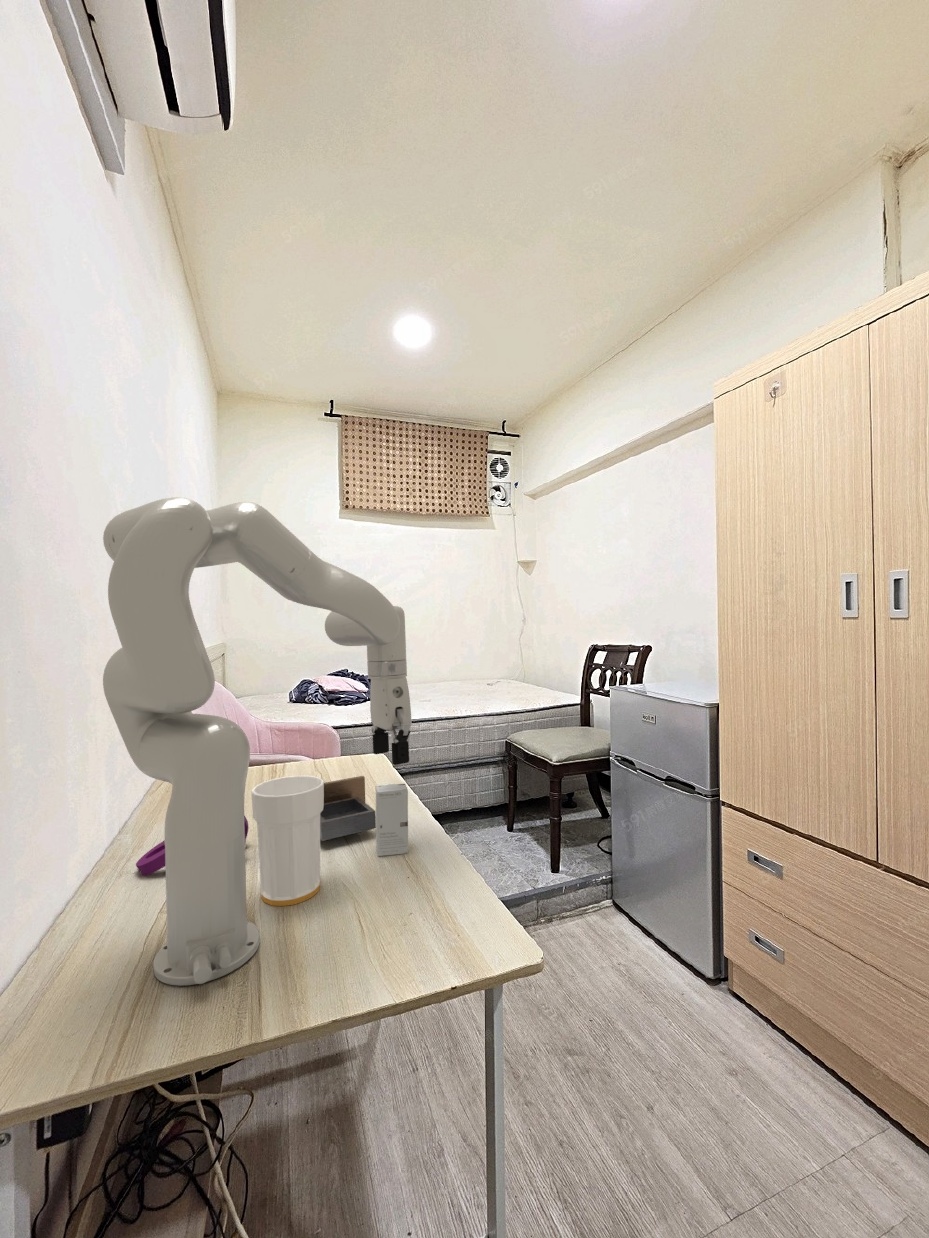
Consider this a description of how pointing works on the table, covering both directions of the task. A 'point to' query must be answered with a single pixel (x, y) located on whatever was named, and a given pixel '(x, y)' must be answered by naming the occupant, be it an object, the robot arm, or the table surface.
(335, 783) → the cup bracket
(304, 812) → the cup
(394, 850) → the skincare box
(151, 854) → the mounting bracket
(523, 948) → the table surface
